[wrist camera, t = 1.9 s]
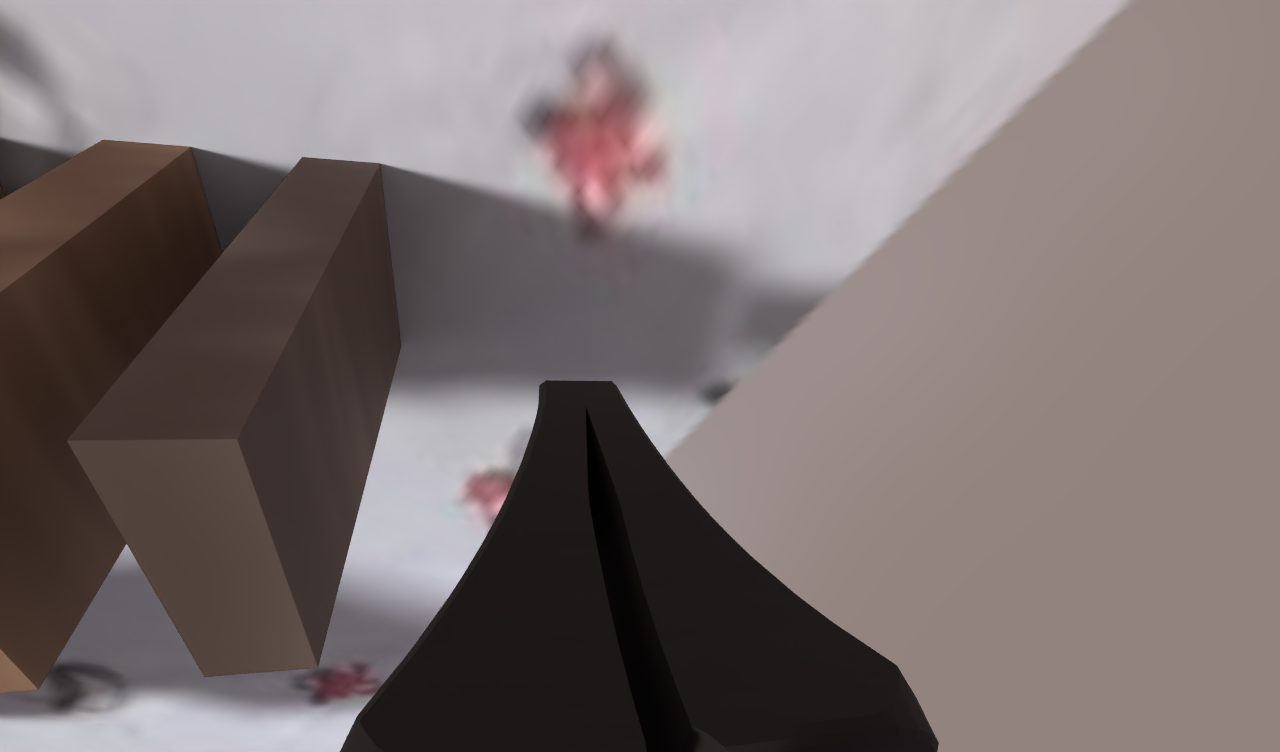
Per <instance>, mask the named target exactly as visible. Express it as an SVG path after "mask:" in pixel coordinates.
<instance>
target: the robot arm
mask: <svg viewBox="0 0 1280 752" xmlns="http://www.w3.org/2000/svg"><path fill="white" fill-rule="evenodd" d="M938 744H939V743H938V741H937V739H936V737H935V735H934V733H933V731H932V729H931V727H930V725H929V723H928V721H927V719H926V717H925V715H924V712H923V710H922V708H921V706H920V704H919V702H918V700H917V698H916V697H915V695H914V693H913V691H912V690H911V688H910V687H909V685H908V683H907V682H906V680H905V678H904V677H903V675H902V673H901V672H900V670H899V668H898V667H897V665H895V664H894V663H892V662H891V661H889V660H888V659H886V658H885V657H883V656H882V655H880V654H879V653H877V652H876V651H875V650H873V649H871V648H870V647H869V646H867V645H865V644H864V643H863V642H861V641H860V640H858V639H857V638H855V637H854V636H852V635H851V634H849V633H848V632H846V631H845V630H843V629H842V628H840V627H839V626H837V625H836V624H834V623H833V622H832V621H830V620H829V619H828V618H826V617H825V616H824V615H822V614H821V613H820V612H818V611H817V610H816V609H814V608H813V607H812V606H810V605H809V604H808V603H806V602H805V601H804V600H802V599H801V598H800V597H798V596H797V595H796V594H795V593H793V592H792V591H791V590H790V589H788V588H787V587H786V586H785V585H784V584H783V583H782V582H781V581H779V580H778V579H777V578H776V577H775V576H773V575H772V574H771V573H770V572H769V571H768V570H767V569H765V568H764V567H763V566H762V565H761V564H760V563H758V562H757V561H756V560H755V559H754V558H753V557H751V556H750V555H749V554H748V553H747V552H746V551H745V550H744V549H743V548H742V547H741V546H740V545H739V544H738V543H737V542H736V541H735V540H734V539H733V538H732V537H731V536H730V535H729V534H728V533H727V532H726V531H725V530H724V529H723V528H722V527H721V526H720V525H719V524H718V523H717V522H716V521H715V520H714V519H713V518H712V517H711V516H710V515H709V513H708V512H707V511H706V510H705V509H704V508H703V507H702V506H701V505H700V504H699V502H698V501H697V500H696V499H695V498H694V496H693V495H692V494H691V493H690V492H689V490H688V489H687V488H686V487H685V485H684V484H683V483H682V482H681V481H680V479H679V478H678V477H677V476H676V474H675V473H674V472H673V470H672V469H671V468H670V467H669V465H668V464H667V463H666V461H665V460H664V458H663V457H662V456H661V454H660V453H659V452H658V450H657V449H656V447H655V446H654V445H653V443H652V442H651V440H650V439H649V438H648V436H647V435H646V433H645V432H644V430H643V429H642V427H641V426H640V424H639V423H638V421H637V419H636V418H635V416H634V415H633V413H632V411H631V410H630V408H629V407H628V405H627V403H626V402H625V400H624V398H623V396H622V395H621V393H620V391H619V389H618V388H617V386H616V385H615V384H614V383H613V382H612V381H547V380H546V381H545V382H543V383H542V384H541V385H539V404H538V410H537V415H536V419H535V423H534V427H533V430H532V433H531V436H530V439H529V442H528V445H527V448H526V451H525V454H524V457H523V460H522V462H521V465H520V467H519V469H518V472H517V474H516V476H515V479H514V481H513V483H512V485H511V488H510V490H509V492H508V495H507V497H506V499H505V501H504V503H503V505H502V507H501V509H500V511H499V513H498V515H497V517H496V519H495V521H494V523H493V525H492V527H491V529H490V530H489V532H488V534H487V536H486V538H485V539H484V541H483V543H482V545H481V547H480V548H479V550H478V552H477V553H476V555H475V557H474V558H473V560H472V561H471V563H470V565H469V566H468V568H467V570H466V571H465V573H464V575H463V576H462V578H461V579H460V581H459V583H458V584H457V586H456V587H455V589H454V590H453V592H452V593H451V595H450V596H449V598H448V599H447V601H446V602H445V603H444V605H443V606H442V608H441V609H440V610H439V612H438V613H437V615H436V616H435V617H434V619H433V620H432V621H431V623H430V624H429V626H428V627H427V628H426V630H425V631H424V633H423V634H422V635H421V637H420V638H419V640H418V641H417V642H416V644H415V645H414V646H413V648H412V649H411V650H410V652H409V653H408V654H407V656H406V657H405V658H404V659H403V661H402V662H401V663H400V664H399V666H398V667H397V668H396V669H395V670H394V672H393V673H392V674H391V675H390V677H389V678H388V679H387V680H386V681H385V683H384V684H383V685H382V686H381V688H380V689H379V690H378V691H377V693H376V694H375V695H374V696H373V697H372V699H371V700H370V701H369V702H368V704H367V705H366V706H365V707H364V708H363V710H362V711H361V712H360V713H359V715H358V716H357V718H356V720H355V722H354V724H353V726H352V728H351V730H350V732H349V734H348V736H347V738H346V740H345V742H344V744H343V747H342V749H341V751H340V752H937V750H938Z"/></svg>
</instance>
